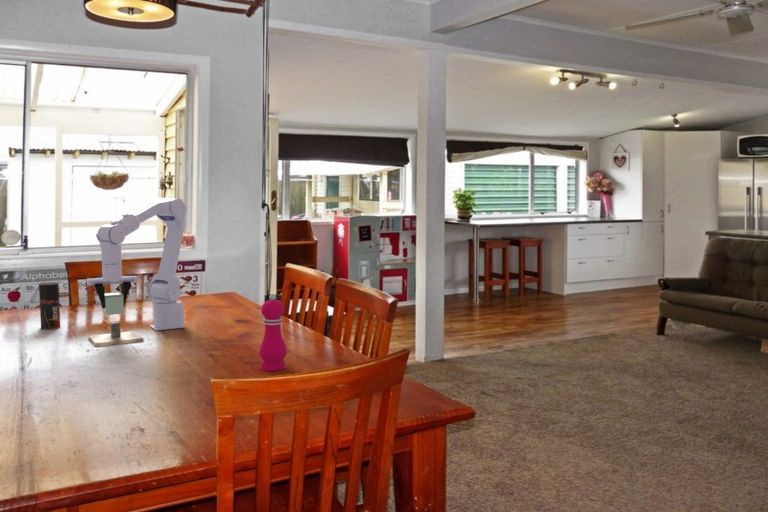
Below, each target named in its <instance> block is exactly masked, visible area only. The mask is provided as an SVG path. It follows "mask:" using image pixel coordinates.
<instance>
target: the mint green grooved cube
mask: <svg viewBox="0 0 768 512" xmlns="http://www.w3.org/2000/svg"><path fill="white" fill-rule="evenodd" d="M104 299H105V308H102V313H103V314H104V315H106V316H110V315H122V314H124V313H125V309H124V308H125V306H124V301H123V294H122V293H121V291H119V292H104Z"/></svg>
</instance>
